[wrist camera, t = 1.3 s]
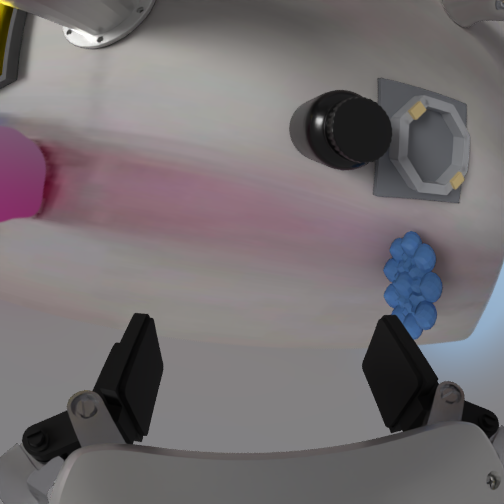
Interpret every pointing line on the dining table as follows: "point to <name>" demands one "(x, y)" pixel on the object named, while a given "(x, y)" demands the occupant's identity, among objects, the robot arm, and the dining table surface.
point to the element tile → (4, 30)
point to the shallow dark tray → (13, 47)
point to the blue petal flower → (412, 283)
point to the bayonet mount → (422, 144)
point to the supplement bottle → (341, 130)
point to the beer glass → (474, 11)
